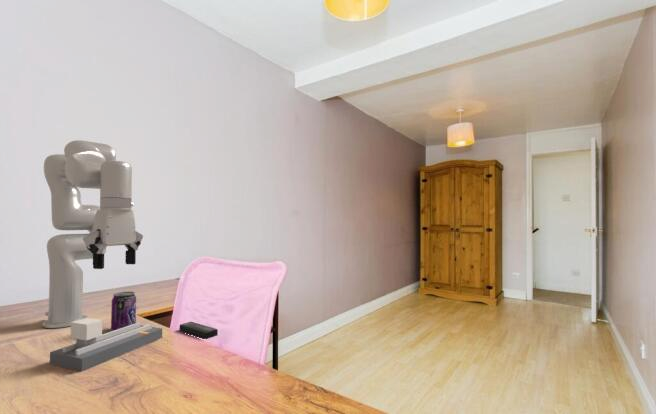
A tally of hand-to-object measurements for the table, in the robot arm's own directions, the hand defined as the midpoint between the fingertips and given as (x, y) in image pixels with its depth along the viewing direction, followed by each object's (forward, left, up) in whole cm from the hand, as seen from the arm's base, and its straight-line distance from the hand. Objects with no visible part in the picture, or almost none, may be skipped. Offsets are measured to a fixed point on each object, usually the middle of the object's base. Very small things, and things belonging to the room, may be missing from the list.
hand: (115, 266), depth 94 cm
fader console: (-2, +1, -24) cm, 24 cm away
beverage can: (-15, +15, -24) cm, 32 cm away
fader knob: (-2, -6, -21) cm, 22 cm away
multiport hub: (+11, +21, -24) cm, 34 cm away
